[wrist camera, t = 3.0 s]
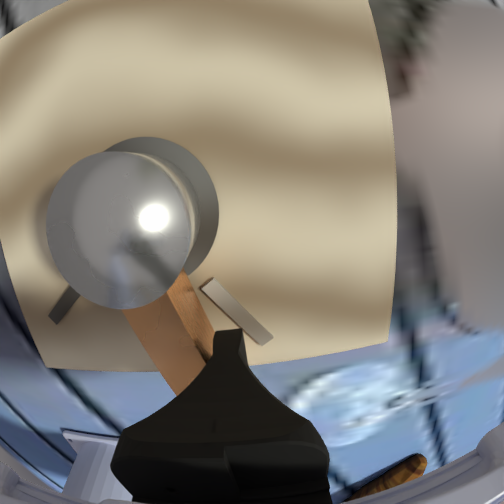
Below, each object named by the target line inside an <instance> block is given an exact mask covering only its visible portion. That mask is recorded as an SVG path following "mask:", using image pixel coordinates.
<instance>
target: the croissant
mask: <svg viewBox="0 0 504 504" xmlns="http://www.w3.org/2000/svg"><path fill="white" fill-rule="evenodd" d="M426 466H427V460H426V458H425V457H424V456H423V455H422V454H417V455H415V456H413V457H411V458H409V459H407V460H405V461H403V462H402V463H400V464H399V465H397V466H396V467H394V468H392V469H391V470H389V471H388V472H386V473H385V474H383V475H382V476H380V477H379V478H377V479H375V480H373V481H372V482H370V483H368V484H366V485H365V486H363V487H362V488H361V489H359V490H358V491H357V492H356V493H354V494H353V495H352V496H351V497H350V498H348V499H347V500H345V501H344V502H348V501H351V500H355V499H359V498H362V497H366V496H369V495H372V494H375V493H378V492H381V491H384V490H387V489H390V488H393V487H396V486H398V485H401V484H404V483H406V482H409V481H411V480H414V479H416V478H418V477H421V476H422V475H423V473H424V471H425V468H426ZM344 502H343V503H344Z"/></svg>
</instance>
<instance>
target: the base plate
mask: <svg viewBox="0 0 504 504" xmlns="http://www.w3.org/2000/svg"><path fill="white" fill-rule="evenodd" d="M114 151H116V152H131V153H143V154H151V155H156V156H159V157H162V158H165V159H167V160H169V161H170V162H172V163H173V164H175V165H176V166H178V167H179V168H180V169H181V170H182V171H183V172H184V173H185V174H186V176H187V177H188V178H189V180H190V181H191V183H192V184H193V186H194V188H195V191H196V193H197V196H198V199H199V204H200V212H201V220H200V228H199V233H198V236H197V239H196V241H195V243H194V245H193V247H192V249H191V251H190V253H189V255H188V257H187V259H186V261H185V263H184V265H183V268H184V270H185V272H186V274H187V276H188V278H189V280H190V283H191V285H192V287H193V289H194V291H195V293H196V295H197V297H198V299H199V301H200V303H201V305H202V307H203V309H204V311H205V313H206V315H207V317H208V319H209V321H210V323H211V325H212V327H213V329H214V331H215V332H216V331H220V330H229V329H238V328H242V329H243V335H244V342H245V348H246V354H247V360H248V366H250V365H259V364H267V363H275V362H283V361H290V360H296V359H303V358H309V357H315V356H321V355H326V354H332V353H337V352H342V351H347V350H352V349H357V348H362V347H366V346H371V345H375V344H379V343H384V342H387V341H388V334H389V327H390V319H391V311H392V301H393V291H394V279H395V264H396V242H397V185H396V163H395V149H394V138H393V127H392V118H391V110H390V102H389V95H388V89H387V82H386V76H385V71H384V65H383V60H382V55H381V51H380V46H379V41H378V37H377V33H376V29H375V25H374V21H373V17H372V13H371V10H370V6H369V3H368V0H69V1H67V2H64V3H62V4H60V5H58V6H56V7H54V8H52V9H50V10H48V11H46V12H44V13H42V14H41V15H39V16H37V17H35V18H33V19H32V20H30V21H28V22H26V23H25V24H23V25H21V26H20V27H18V28H16V29H15V30H13V31H12V32H10V33H9V34H7V35H5V36H4V37H2V38H1V39H0V239H1V244H2V248H3V252H4V256H5V260H6V263H7V267H8V270H9V274H10V277H11V280H12V284H13V287H14V290H15V293H16V296H17V299H18V302H19V304H20V307H21V310H22V313H23V315H24V318H25V320H26V323H27V325H28V328H29V330H30V333H31V335H32V337H33V340H34V342H35V344H36V346H37V349H38V351H39V353H40V355H41V357H42V359H43V361H44V363H45V365H46V367H49V368H59V369H72V370H89V371H117V372H157V371H159V370H158V368H157V367H156V365H155V364H154V362H153V361H152V359H151V358H150V356H149V355H148V353H147V352H146V350H145V348H144V347H143V345H142V344H141V342H140V340H139V339H138V337H137V335H136V334H135V332H134V331H133V329H132V327H131V325H130V324H129V322H128V320H127V319H126V317H125V315H124V313H123V312H122V310H121V309H113V308H108V307H104V306H101V305H98V304H96V303H93V302H91V301H90V300H88V299H86V298H84V297H83V296H82V295H80V294H79V293H78V292H76V291H75V290H74V289H73V288H72V287H71V286H70V285H69V284H68V283H67V281H66V280H65V279H64V278H63V276H62V275H61V273H60V272H59V270H58V268H57V267H56V265H55V263H54V260H53V258H52V256H51V253H50V249H49V246H48V241H47V235H46V215H47V209H48V204H49V201H50V198H51V195H52V193H53V190H54V188H55V186H56V185H57V183H58V181H59V180H60V178H61V177H62V176H63V175H64V173H65V172H66V171H67V170H68V169H69V168H70V167H71V166H73V165H74V164H75V163H77V162H78V161H80V160H82V159H83V158H85V157H87V156H90V155H93V154H96V153H101V152H114Z"/></svg>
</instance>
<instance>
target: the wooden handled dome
mask: <svg viewBox="0 0 504 504" xmlns="http://www.w3.org/2000/svg"><path fill="white" fill-rule="evenodd" d="M200 220H201V212H200V204H199V199H198V196H197V193H196V191H195V188H194V186H193V184H192V183H191V181H190V180H189V178H188V177H187V176H186V174H185V173H184V172H183V171H182V170H181V169H180V168H179V167H178V166H176V165H175V164H173V163H172V162H170V161H169V160H167V159H165V158H162V157H159V156H156V155H151V154H143V153H131V152H116V151H114V152H101V153H96V154H93V155H90V156H87V157H85V158H83V159H82V160H80V161H78V162H77V163H75V164H74V165H73V166H71V167H70V168H69V169H68V170H67V171H66V172H65V173H64V175H63V176H62V177H61V178H60V180H59V181H58V183H57V185H56V186H55V188H54V190H53V193H52V195H51V198H50V201H49V204H48V209H47V215H46V235H47V241H48V246H49V249H50V253H51V256H52V258H53V260H54V263H55V265H56V267H57V268H58V270H59V272H60V273H61V275H62V276H63V278H64V279H65V280H66V281H67V283H68V284H69V285H70V286H71V287H72V288H73V289H74V290H75V291H76V292H78V293H79V294H80V295H82V296H83V297H84V298H86V299H88V300H90V301H91V302H93V303H96V304H98V305H101V306H104V307H108V308H113V309H121V310H122V312H123V313H124V315H125V317H126V319H127V320H128V322H129V324H130V325H131V327H132V329H133V331H134V332H135V334H136V335H137V337H138V339H139V340H140V342H141V344H142V345H143V347H144V348H145V350H146V352H147V353H148V355H149V356H150V358H151V359H152V361H153V362H154V364H155V365H156V367H157V368H158V370H159V371H160V373H161V374H162V376H163V377H164V379H165V380H166V382H167V383H168V384H169V386H170V387H171V389H172V390H173V391H174V393H175V394H176V396H178V395H179V394H180V393H181V392H182V391H183V390H184V389H185V388H186V387H187V386H188V385H189V384H190V383H191V382H192V381H193V380H194V379H195V378H196V376H197V375H198V374H199V373H200V371H201V370H202V369H203V367H204V366H205V365H206V363H207V362H208V361H209V359H210V358H211V356H212V354H213V337H214V334H215V331H214V329H213V327H212V325H211V323H210V321H209V319H208V317H207V315H206V313H205V311H204V309H203V307H202V305H201V303H200V301H199V299H198V297H197V295H196V293H195V291H194V289H193V287H192V285H191V283H190V280H189V278H188V276H187V274H186V272H185V270H184V268H183V265H184V263H185V261H186V259H187V257H188V255H189V253H190V251H191V249H192V247H193V245H194V243H195V241H196V239H197V236H198V233H199V228H200Z"/></svg>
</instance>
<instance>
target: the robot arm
mask: <svg viewBox="0 0 504 504" xmlns="http://www.w3.org/2000/svg"><path fill="white" fill-rule="evenodd" d="M63 436H64V437H65V439H66V440H67V441H68V443H69V444H70V445H71V447H72V448H73V449H74V450H75V452H76V453H77V456H76V459H75V461H74V464H73V466H72V468H71V471H70V473H69V476H68V479H67V481H66V484H65V486H64V489H63V492H62V494H61V493H58V492H55V491H53V490H50V489H47V488H44V487H42V486H39V485H36V484H34V483H32V482H29V481H27V480H24V479H22V478H20V477H19V476H18V475H17V473H16V472H15V471H14V470H13V469H12V468H10V467H9V466H8V465H6V464H5V463H3V462H1V461H0V504H332V500H331V496H330V492H329V489H330V485H329V481H328V477H327V474H328V468H329V461H330V458H329V452H328V450H327V447H326V445H325V443H324V441H323V440H322V438H321V436H320V435H319V433H318V432H317V430H316V429H315V427H314V426H313V424H312V423H311V422H310V421H309V420H307V419H306V418H304V417H302V416H300V415H299V414H297V413H296V412H294V411H293V410H291V409H290V408H288V407H287V406H286V405H284V404H283V403H282V402H281V401H279V400H278V399H277V398H276V397H275V396H274V395H272V394H271V393H270V392H269V391H268V390H267V389H266V388H265V387H264V386H263V385H262V384H261V382H260V381H259V380H258V379H257V378H256V376H255V375H254V374H253V372H252V371H251V370H250V368H249V366H248V360H247V354H246V348H245V342H244V335H243V329H242V328H238V329H229V330H220V331H216V332H215V334H214V337H213V354H212V356H211V358H210V359H209V361H208V362H207V363H206V365H205V366H204V367H203V369H202V370H201V371H200V373H199V374H198V375H197V376H196V378H195V379H194V380H193V381H192V382H191V383H190V384H189V385H188V386H187V387H186V388H185V389H184V390H183V391H182V392H181V393H180V394H179V395H178V396H176V397H175V398H174V399H173V400H172V401H171V402H169V403H168V404H167V405H165V406H164V407H162V408H161V409H160V410H158V411H156V412H155V413H153V414H152V415H150V416H149V417H147V418H145V419H143V420H141V421H139V422H137V423H135V424H133V425H131V426H129V427H127V428H125V429H124V430H123V432H122V434H121V436H120V438H112V437H104V436H97V435H90V434H84V433H78V432H73V431H67V430H64V432H63ZM503 501H504V422H503V423H501V424H500V425H498V426H497V427H495V428H494V429H492V430H491V431H489V432H488V433H487V434H486V435H485V436H484V437H483V438H482V439H481V440H480V442H479V443H478V445H477V448H476V449H474V450H473V451H471V452H469V453H467V454H466V455H464V456H462V457H460V458H458V459H456V460H454V461H453V462H451V463H449V464H447V465H445V466H443V467H441V468H438V469H436V470H434V471H432V472H430V473H428V474H425V475H423V476H421V477H418V478H416V479H414V480H411V481H409V482H406V483H404V484H401V485H398V486H396V487H393V488H390V489H387V490H384V491H381V492H378V493H375V494H372V495H369V496H366V497H362V498H359V499H355V500H351V501H348V502H344V503H340V504H500V503H501V502H503Z"/></svg>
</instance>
